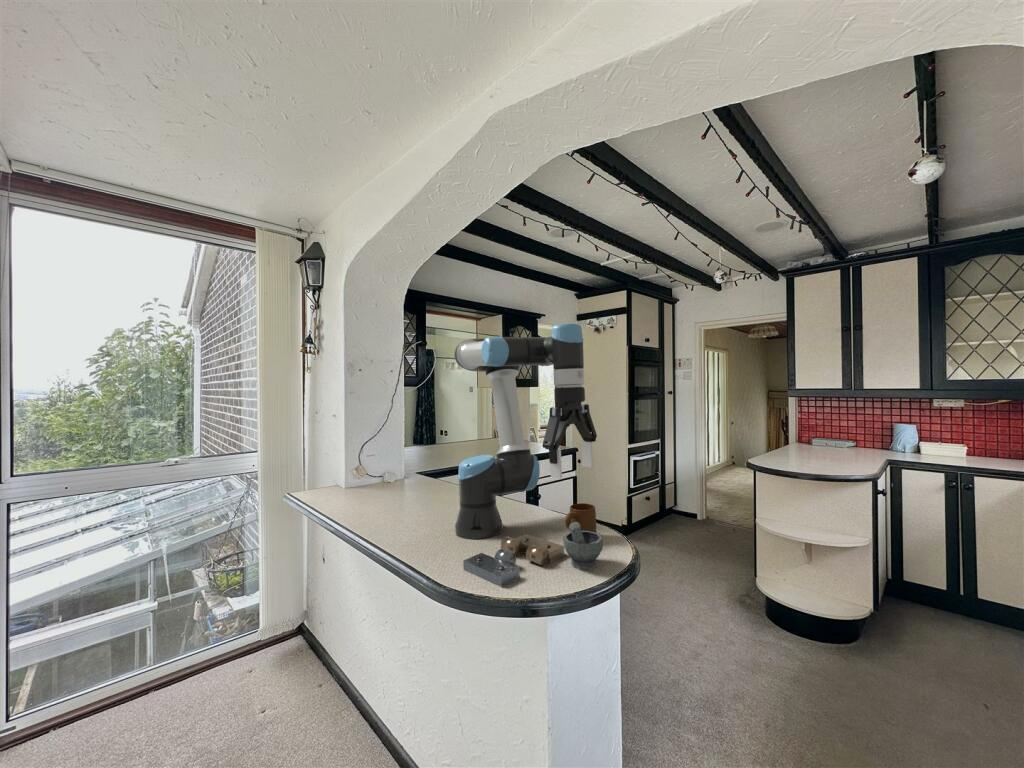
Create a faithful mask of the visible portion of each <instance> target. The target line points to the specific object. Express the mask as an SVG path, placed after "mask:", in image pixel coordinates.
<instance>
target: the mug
mask: <svg viewBox="0 0 1024 768" xmlns="http://www.w3.org/2000/svg"><path fill="white" fill-rule="evenodd" d="M573 522H578V523H579V524H580V526H581V531H591V532H595V533H598V532H597V513H596V506H595V505H594V504H590V503H586V502H585V503H583V502H581V503H580V502H579V503H575V504H574V503H573V504H571V505H570V506H569V512H568V513H567V514H566V515H565V518H564V524H565V527H566V528H567V530H569V531H570V528H569V526H570V524H571V523H573Z"/></svg>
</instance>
